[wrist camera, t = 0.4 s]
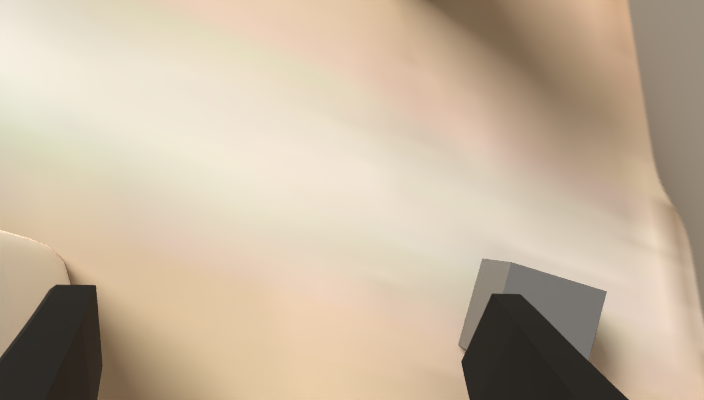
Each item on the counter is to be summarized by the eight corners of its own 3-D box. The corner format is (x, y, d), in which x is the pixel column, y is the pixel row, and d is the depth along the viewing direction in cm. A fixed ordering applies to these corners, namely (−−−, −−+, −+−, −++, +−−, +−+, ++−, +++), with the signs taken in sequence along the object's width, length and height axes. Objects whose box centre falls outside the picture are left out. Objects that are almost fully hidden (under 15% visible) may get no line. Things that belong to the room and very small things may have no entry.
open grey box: (564, 283, 39) (606, 291, 34) (541, 369, 39) (580, 391, 33) (482, 258, 39) (511, 262, 34) (458, 344, 39) (483, 362, 33)
